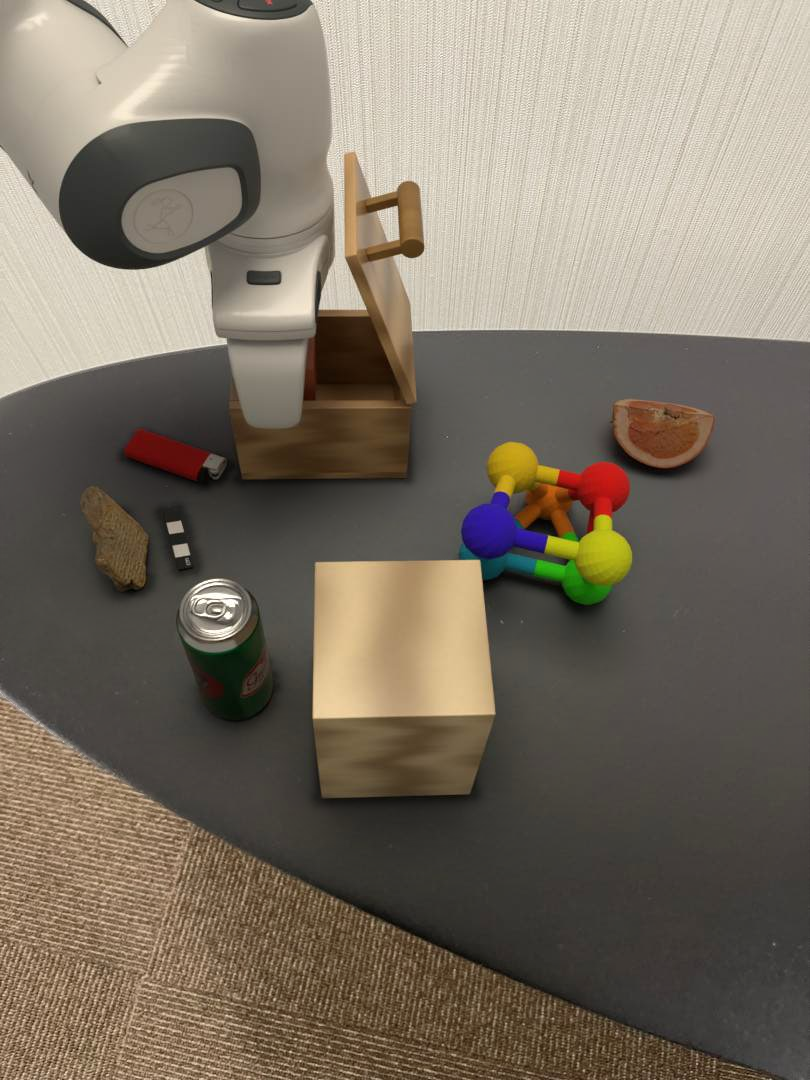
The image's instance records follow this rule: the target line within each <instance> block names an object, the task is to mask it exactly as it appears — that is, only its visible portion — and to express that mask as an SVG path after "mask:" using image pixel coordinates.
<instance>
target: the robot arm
mask: <svg viewBox="0 0 810 1080" xmlns="http://www.w3.org/2000/svg"><path fill="white" fill-rule="evenodd" d="M330 75H331V74H330V67H329V58H328V52H327V45H326V40H325V35H324V31H323V27H322V23H321V19H320V16H319V13H318V11H317V8H316V6H315V4H314V2H313V1H312V0H166V2H165V3H164V5H163V6H162V8H161V9H160V11H159V12H158V14H157V15H156V16H155V17H154V19H153V20H152V21H151V23H150V24H149V25H148V27H147V28H146V29H145V30H144V32H142V33H141V34H140V35H139V36H138V38H136V40H135V41H134V42H133V43H131V44H130V46H128V44H127V43H126V42H125V40H124V39H123V37H122V36H121V35H120V34H119V32H118V31H117V30H116V29H115V27H114V26H113V24H112V23H111V22H110V21H109V20H108V19H107V17H106V16H104V14H102V13H101V12H100V11H99V10H98V9H97V8H96V7H94V6H93V5H91V3H89V2H87V1H86V0H0V149H2V150H3V152H5V154H7V156H8V158H9V159H10V161H11V162H12V163H13V165H14V166H15V167H16V168H17V170H18V171H19V173H20V174H21V175H22V177H23V178H24V179H25V181H26V183H27V184H28V185H29V187H30V188H31V189H32V190H33V192H34V193H35V195H36V196H37V198H38V199H39V201H40V202H41V203H42V205H43V206H44V208H46V209H47V211H48V213H49V214H50V215H51V217H52V218H53V219H54V220H55V222H56V223H57V225H58V226H59V227H60V228H61V229H62V231H63V232H64V233H65V234H66V236H67V237H68V239H69V240H70V242H71V243H72V244H73V245H74V247H75V248H76V249H77V250H78V251H79V252H81V253H82V254H83V255H84V256H86V257H87V258H88V259H90V260H92V261H94V262H95V263H98V264H100V265H102V266H106V267H109V268H113V269H118V270H128V271H130V270H131V271H139V270H148V269H154V268H158V267H162V266H163V265H164V266H165V265H168V264H170V263H173V262H175V261H178V260H180V259H182V258H185V257H187V256H189V255H191V254H193V253H195V252H197V251H199V250H202V249H204V254H205V259H206V264H207V269H208V272H209V275H210V286H211V311H212V322H213V328H214V331H215V335H216V336H217V337H218V338H219V339H226V347H227V352H228V360H229V365H230V369H231V375H232V374H233V378H234V382H235V386H236V390H237V394H238V398H239V401H240V405H241V409H242V412H243V415H244V418H245V420H246V422H247V423H248V424H249V425H250V426H252V427H254V428H260V429H287V428H293V427H296V426H297V425H298V424H299V422H300V419H301V414H302V407H303V395H304V383H305V371H306V359H307V349H308V340H309V338H313V337H314V336H315V334H316V323H318V313H319V310H320V304H321V298H322V292H323V289H324V286H325V284H326V281H327V278H328V276H329V271H330V269H331V267H332V265H333V263H334V261H335V257H336V222H335V220H336V219H335V217H336V216H335V189H334V182H333V179H332V175H331V173H330V170H329V167H328V153H329V151H330V147H331V144H332V140H333V107H332V88H331V78H330V77H331V76H330Z"/></svg>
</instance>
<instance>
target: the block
mask: <svg viewBox="0 0 810 1080" xmlns="http://www.w3.org/2000/svg"><path fill="white" fill-rule="evenodd" d="M316 388H317V361H316V342H315V336H314V337H313V338H309V340H308V349H307V359H306V371H305V383H304V395H303V401H316Z"/></svg>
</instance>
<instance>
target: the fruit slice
mask: <svg viewBox="0 0 810 1080" xmlns="http://www.w3.org/2000/svg"><path fill="white" fill-rule="evenodd" d="M715 419H716V417H715V415H714V414H712V413H711V412H709V411H706V410H704V409H700V408H698V407H697V408H696V407H694V406H693V407H692V406H688V405H683V404H678V403H670V402H661V401H654V400H644V399H634V398H622V399H619V400H615V402H614V403H613V404H612V415H611V418H609V423H610V424H612V436H613V439H614V440H615V441H616V443H617V444H618V446H619V447H621V448H622V450H623V451H624V452H625V453H626V454H627V455H628V456H630V457H631V458H633V459H634V460H636V461H638V462H640V463H642V464H644V465H646V466H650V467H652V468H658V469H671V468H677V467H679V466H682V465H683V464H687V463H688V462H690V461H692V460H693V459H695V458H697V457H698V455H699V454H701V453H702V451H703V450H704V449H705V448H706V446H707V444H708V443H709V440H710V439H711V436H712V433H713V431H714V430H713V429H714V426H715V423H716V422H715Z"/></svg>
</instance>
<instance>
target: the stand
mask: <svg viewBox="0 0 810 1080" xmlns="http://www.w3.org/2000/svg"><path fill="white" fill-rule="evenodd" d="M313 587H314V592H313V593H314V596H313V647H312V648H313V649H312V650H313V652H312V653H313V655H312V656H313V658H312V660H313V661H312V664H313V665H312V713H311V717H312V726H313V727H312V728H313V736H314V743H315V752H316V760H317V761H316V762H317V768H318V779H319V787H320V794H321V795H320V797H321V798H322V799H346V798H347V799H349V798H350V799H351V798H384V797H385V798H386V797H421V796H454V795H456V796H457V795H460V796H461V795H471V792H472V789H473V786H474V783H475V779H476V776H477V773H478V770H479V767H480V764H481V761H482V758H483V756H484V755H483V754H484V752H485V748H486V746H487V742H488V739H489V736H490V733H491V730H492V727H493V724H494V720H495V718H496V714H497V712H496V704H495V703H496V702H495V693H494V683H493V673H492V662H491V653H490V644H489V634H488V633H489V632H488V623H487V611H486V605H485V594H484V583H483V580H482V572H481V562H480V560H459V559H445V560H444V559H441V560H440V559H439V560H436V559H435V560H431V559H430V560H367V561H364V560H363V561H362V560H361V561H358V560H357V561H315V562H314V585H313Z"/></svg>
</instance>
